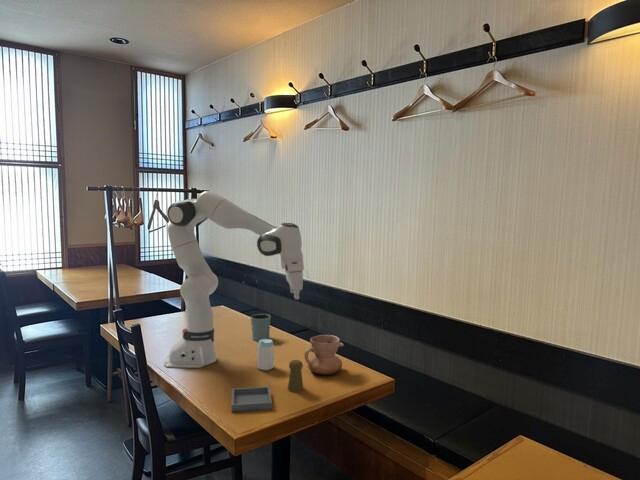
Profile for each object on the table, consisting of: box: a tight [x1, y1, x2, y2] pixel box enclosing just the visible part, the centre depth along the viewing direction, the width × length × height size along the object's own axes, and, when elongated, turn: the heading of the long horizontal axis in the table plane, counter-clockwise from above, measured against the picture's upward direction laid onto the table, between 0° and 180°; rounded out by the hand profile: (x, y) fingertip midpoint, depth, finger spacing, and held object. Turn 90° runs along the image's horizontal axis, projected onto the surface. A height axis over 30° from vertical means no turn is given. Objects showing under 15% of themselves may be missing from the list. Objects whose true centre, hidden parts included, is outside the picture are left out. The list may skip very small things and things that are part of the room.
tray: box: [231, 386, 273, 413], centre depth 158 cm, size 14×14×2 cm
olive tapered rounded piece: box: [287, 359, 304, 393], centre depth 170 cm, size 6×6×11 cm
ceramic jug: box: [304, 334, 344, 376], centre depth 188 cm, size 18×14×14 cm
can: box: [256, 338, 275, 371], centre depth 191 cm, size 7×7×12 cm
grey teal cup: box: [250, 313, 272, 342], centre depth 231 cm, size 10×10×12 cm
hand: (295, 295), depth 183 cm, fingers open, 8 cm apart
